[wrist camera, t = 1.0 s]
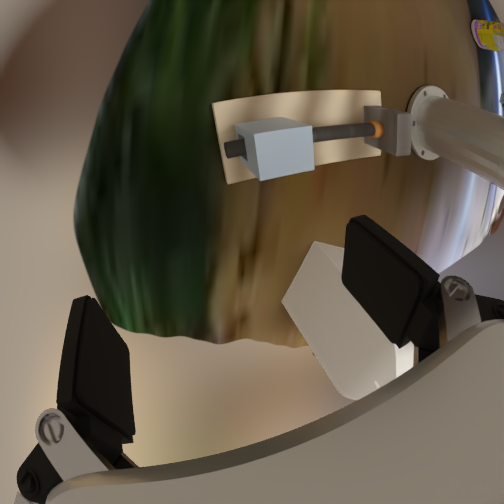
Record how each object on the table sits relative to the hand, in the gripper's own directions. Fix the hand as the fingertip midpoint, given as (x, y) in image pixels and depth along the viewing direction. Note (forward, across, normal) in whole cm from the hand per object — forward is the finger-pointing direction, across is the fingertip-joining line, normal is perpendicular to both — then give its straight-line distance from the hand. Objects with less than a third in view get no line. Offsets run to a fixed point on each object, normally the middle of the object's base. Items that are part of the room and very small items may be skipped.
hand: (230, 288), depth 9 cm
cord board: (+21, -15, 0) cm, 26 cm away
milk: (+21, -18, +24) cm, 36 cm away
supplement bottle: (+20, -57, -22) cm, 64 cm away
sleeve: (+20, -8, 0) cm, 21 cm away
